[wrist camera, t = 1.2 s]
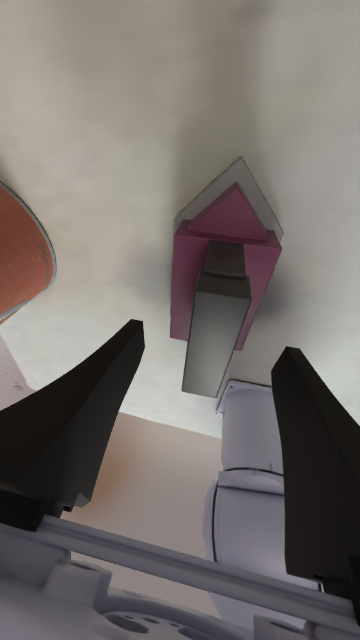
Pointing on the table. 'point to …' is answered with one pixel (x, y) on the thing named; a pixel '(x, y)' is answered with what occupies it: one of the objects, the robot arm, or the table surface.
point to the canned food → (21, 255)
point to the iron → (220, 273)
